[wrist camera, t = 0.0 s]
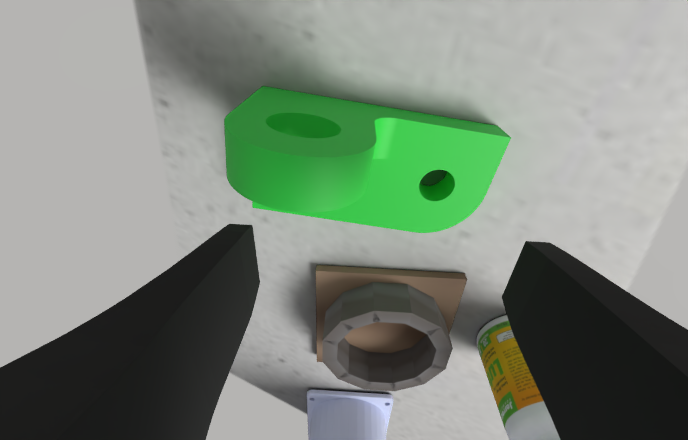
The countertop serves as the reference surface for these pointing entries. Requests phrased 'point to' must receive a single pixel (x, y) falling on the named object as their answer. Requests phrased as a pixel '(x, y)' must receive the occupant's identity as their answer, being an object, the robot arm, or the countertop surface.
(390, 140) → the mechanical part
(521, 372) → the supplement bottle
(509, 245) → the countertop surface
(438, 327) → the collar holder
